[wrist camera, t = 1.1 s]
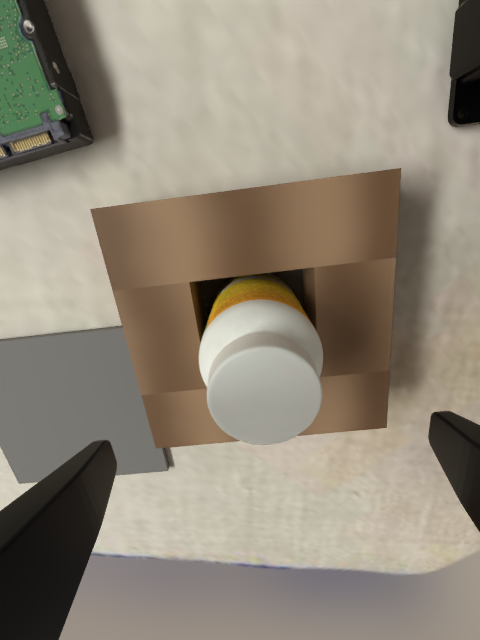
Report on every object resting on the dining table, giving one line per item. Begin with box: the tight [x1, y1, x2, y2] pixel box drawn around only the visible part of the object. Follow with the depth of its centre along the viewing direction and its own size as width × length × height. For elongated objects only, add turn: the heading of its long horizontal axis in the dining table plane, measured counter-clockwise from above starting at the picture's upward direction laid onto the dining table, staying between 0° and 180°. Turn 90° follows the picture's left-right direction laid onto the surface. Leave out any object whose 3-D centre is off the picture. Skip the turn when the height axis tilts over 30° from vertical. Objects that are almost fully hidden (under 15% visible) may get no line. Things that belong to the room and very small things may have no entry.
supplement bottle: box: [199, 273, 323, 445], centre depth 15 cm, size 5×5×10 cm
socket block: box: [90, 168, 401, 449], centre depth 18 cm, size 14×14×4 cm
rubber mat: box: [0, 326, 169, 484], centre depth 22 cm, size 12×12×1 cm
